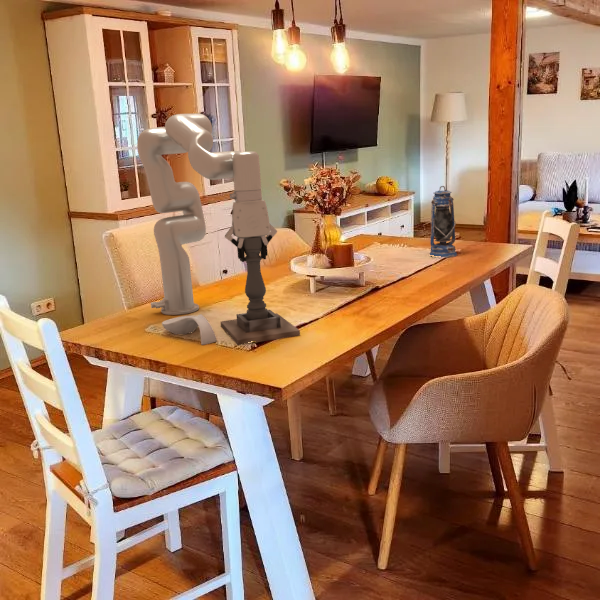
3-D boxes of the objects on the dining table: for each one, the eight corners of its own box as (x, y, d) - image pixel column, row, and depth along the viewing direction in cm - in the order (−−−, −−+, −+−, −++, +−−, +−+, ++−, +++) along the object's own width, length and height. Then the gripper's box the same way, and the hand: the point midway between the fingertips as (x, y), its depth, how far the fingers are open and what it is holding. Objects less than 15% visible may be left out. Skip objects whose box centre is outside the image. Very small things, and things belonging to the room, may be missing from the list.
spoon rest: (156, 332, 209) (154, 309, 207) (191, 324, 215) (189, 302, 213) (191, 349, 190) (189, 324, 188) (229, 340, 196) (226, 315, 194)
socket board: (238, 345, 190) (236, 329, 188) (220, 326, 210) (219, 311, 209) (300, 335, 195) (299, 320, 194) (277, 317, 215) (276, 303, 214)
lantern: (444, 251, 311) (443, 184, 304) (465, 254, 301) (465, 184, 294) (420, 256, 302) (418, 187, 295) (441, 259, 292) (440, 188, 285)
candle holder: (269, 318, 205) (263, 234, 199) (266, 324, 199) (260, 238, 193) (249, 318, 205) (242, 235, 199) (245, 324, 199) (238, 239, 193)
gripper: (221, 200, 187) (226, 265, 192) (281, 194, 192) (285, 258, 197) (215, 198, 194) (220, 261, 199) (273, 193, 199) (277, 254, 204)
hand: (253, 259), depth 198 cm, fingers closed on candle holder, 5 cm apart
